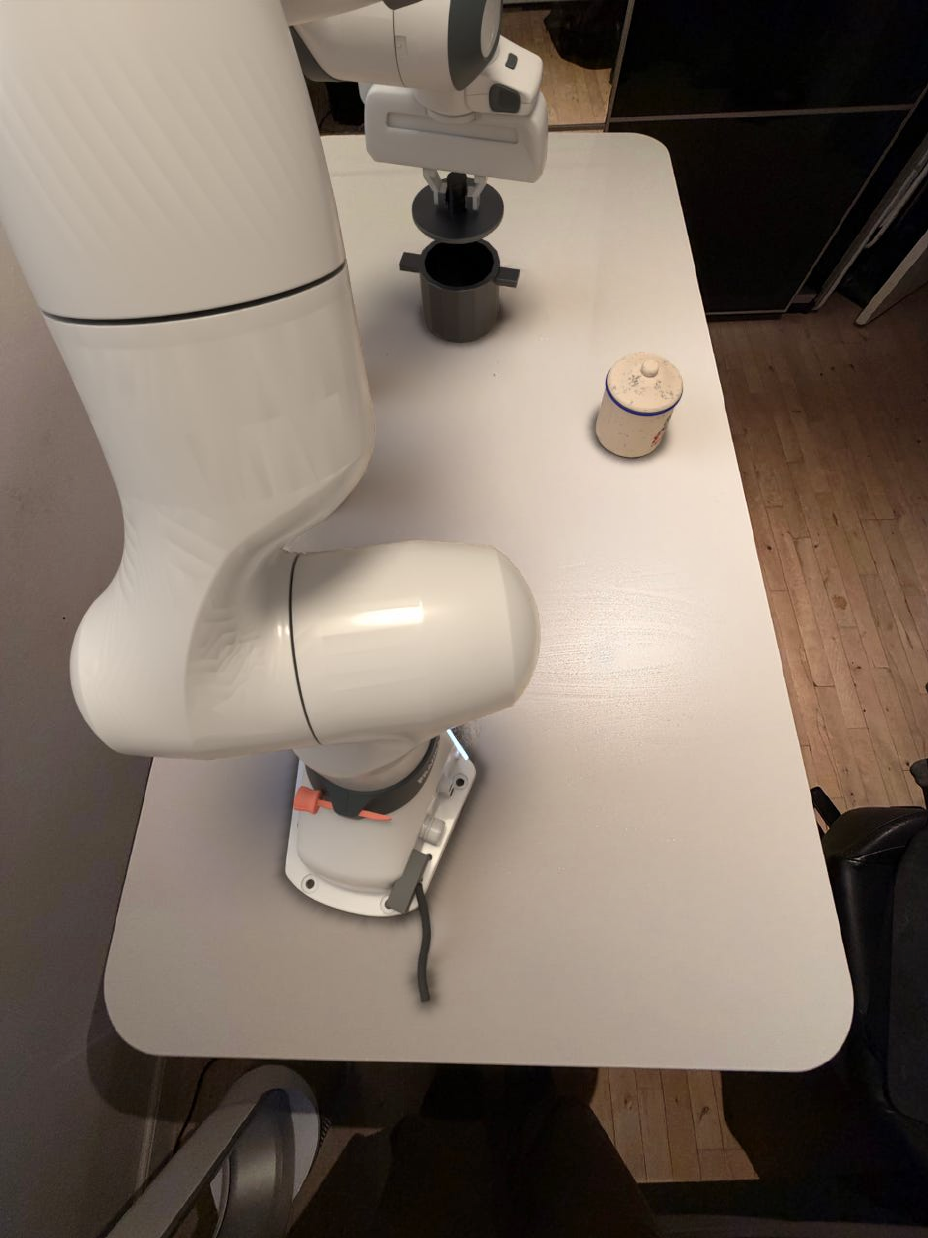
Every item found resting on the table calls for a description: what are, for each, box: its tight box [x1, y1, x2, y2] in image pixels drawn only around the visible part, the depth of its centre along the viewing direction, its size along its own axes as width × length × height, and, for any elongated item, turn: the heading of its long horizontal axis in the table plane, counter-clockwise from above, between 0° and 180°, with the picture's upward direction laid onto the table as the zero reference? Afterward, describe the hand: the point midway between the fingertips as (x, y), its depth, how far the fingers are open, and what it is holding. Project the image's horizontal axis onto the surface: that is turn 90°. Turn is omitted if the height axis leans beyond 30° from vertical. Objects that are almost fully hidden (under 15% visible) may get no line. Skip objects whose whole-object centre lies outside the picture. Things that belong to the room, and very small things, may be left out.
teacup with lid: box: [595, 351, 684, 458], centre depth 78 cm, size 12×9×12 cm
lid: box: [411, 172, 505, 244], centre depth 76 cm, size 11×11×5 cm
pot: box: [398, 238, 521, 344], centre depth 87 cm, size 11×16×8 cm, turn 77°
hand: (457, 204), depth 76 cm, fingers closed on lid, 2 cm apart
